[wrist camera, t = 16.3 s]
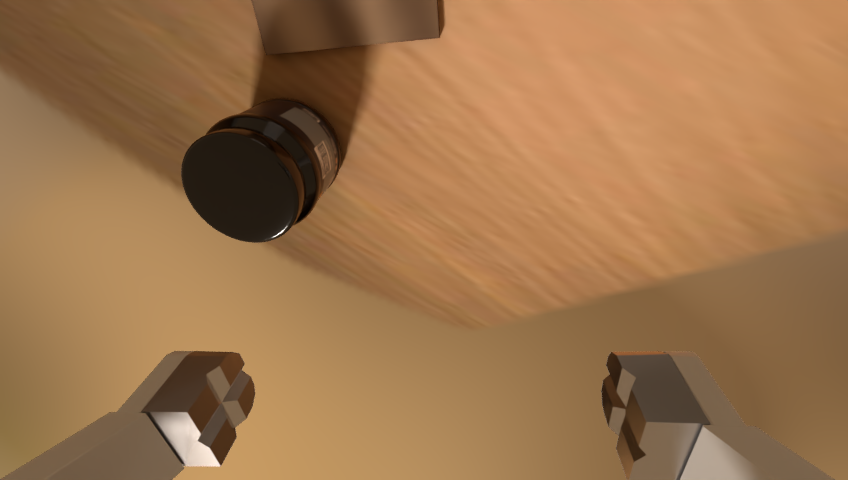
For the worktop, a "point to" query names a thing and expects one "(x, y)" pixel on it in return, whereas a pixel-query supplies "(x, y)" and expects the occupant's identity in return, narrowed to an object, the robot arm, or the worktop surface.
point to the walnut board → (342, 23)
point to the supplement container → (261, 169)
